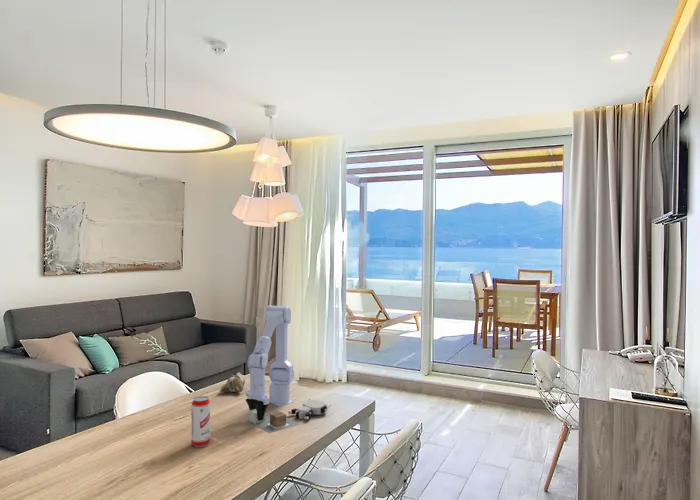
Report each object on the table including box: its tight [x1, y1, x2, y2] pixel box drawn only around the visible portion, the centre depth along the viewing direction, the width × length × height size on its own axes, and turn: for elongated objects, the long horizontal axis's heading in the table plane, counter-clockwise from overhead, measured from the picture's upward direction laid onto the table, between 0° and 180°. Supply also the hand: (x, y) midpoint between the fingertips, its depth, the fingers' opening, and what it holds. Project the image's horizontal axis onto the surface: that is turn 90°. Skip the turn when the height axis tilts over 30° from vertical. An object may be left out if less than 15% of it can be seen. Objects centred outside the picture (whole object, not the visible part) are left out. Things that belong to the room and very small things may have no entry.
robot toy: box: [287, 398, 332, 420], centre depth 193 cm, size 12×4×15 cm
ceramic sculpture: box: [219, 371, 246, 393], centre depth 225 cm, size 11×9×15 cm
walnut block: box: [270, 411, 287, 428], centre depth 181 cm, size 4×4×4 cm
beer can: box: [190, 395, 211, 448], centre depth 163 cm, size 6×6×16 cm
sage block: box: [248, 409, 266, 424], centre depth 185 cm, size 4×4×4 cm
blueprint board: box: [245, 411, 301, 434], centre depth 184 cm, size 18×14×1 cm
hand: (257, 418), depth 185 cm, fingers closed on sage block, 4 cm apart
